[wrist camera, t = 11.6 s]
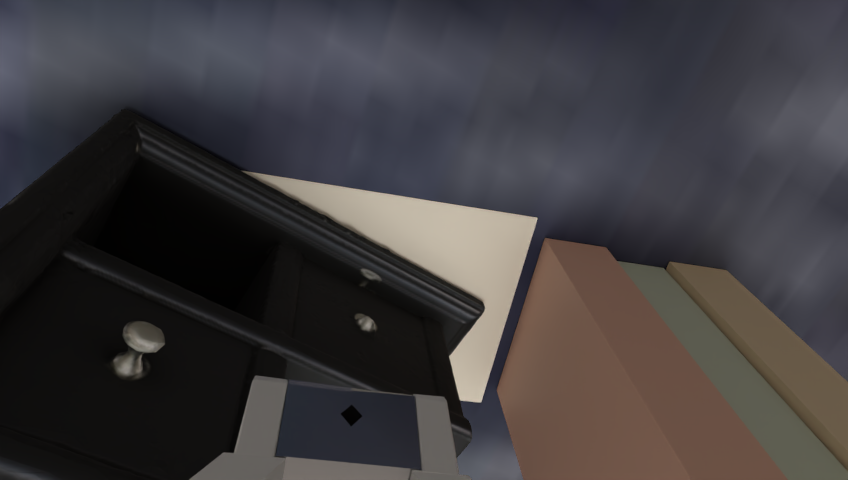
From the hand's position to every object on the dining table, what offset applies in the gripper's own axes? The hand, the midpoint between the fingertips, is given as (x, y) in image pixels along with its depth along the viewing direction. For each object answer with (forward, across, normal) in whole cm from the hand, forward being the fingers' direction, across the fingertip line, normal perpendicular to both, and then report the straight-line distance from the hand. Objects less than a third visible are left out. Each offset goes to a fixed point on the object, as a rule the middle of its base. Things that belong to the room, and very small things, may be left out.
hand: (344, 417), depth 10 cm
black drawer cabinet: (+26, +3, +13) cm, 29 cm away
